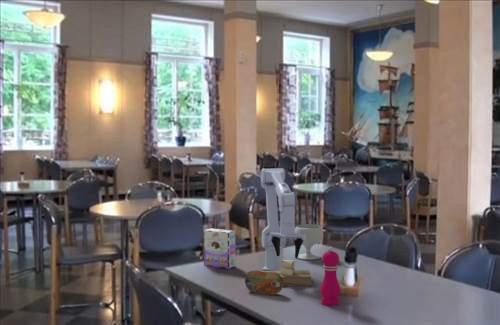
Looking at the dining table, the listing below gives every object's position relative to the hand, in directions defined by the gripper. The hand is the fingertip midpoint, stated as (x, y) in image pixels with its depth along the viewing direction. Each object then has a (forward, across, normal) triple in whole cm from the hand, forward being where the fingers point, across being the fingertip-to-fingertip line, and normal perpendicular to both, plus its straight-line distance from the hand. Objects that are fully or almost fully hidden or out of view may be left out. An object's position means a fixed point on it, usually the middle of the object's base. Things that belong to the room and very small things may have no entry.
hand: (287, 256), depth 227 cm
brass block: (+11, 0, 0) cm, 11 cm away
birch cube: (+7, 0, 0) cm, 7 cm away
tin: (+11, -4, -17) cm, 20 cm away
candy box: (+11, -36, +15) cm, 40 cm away
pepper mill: (+11, +22, -21) cm, 32 cm away
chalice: (+11, -3, +45) cm, 46 cm away
